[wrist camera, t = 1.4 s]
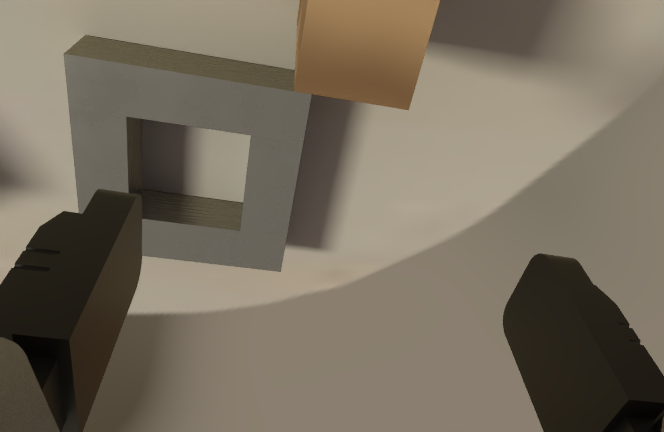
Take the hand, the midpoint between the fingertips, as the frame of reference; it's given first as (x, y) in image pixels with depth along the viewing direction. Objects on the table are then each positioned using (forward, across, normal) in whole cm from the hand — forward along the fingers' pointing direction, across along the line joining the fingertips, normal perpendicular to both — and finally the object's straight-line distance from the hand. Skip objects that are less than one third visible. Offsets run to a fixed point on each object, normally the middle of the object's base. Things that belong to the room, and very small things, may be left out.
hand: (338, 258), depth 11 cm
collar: (+20, +6, +10) cm, 23 cm away
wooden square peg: (+20, -1, -1) cm, 20 cm away
